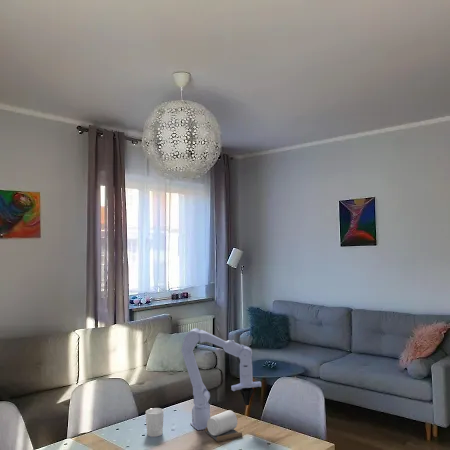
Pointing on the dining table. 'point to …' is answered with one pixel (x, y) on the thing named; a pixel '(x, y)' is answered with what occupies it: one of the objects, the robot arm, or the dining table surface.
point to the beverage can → (222, 423)
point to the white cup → (154, 422)
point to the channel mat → (225, 435)
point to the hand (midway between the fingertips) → (247, 404)
